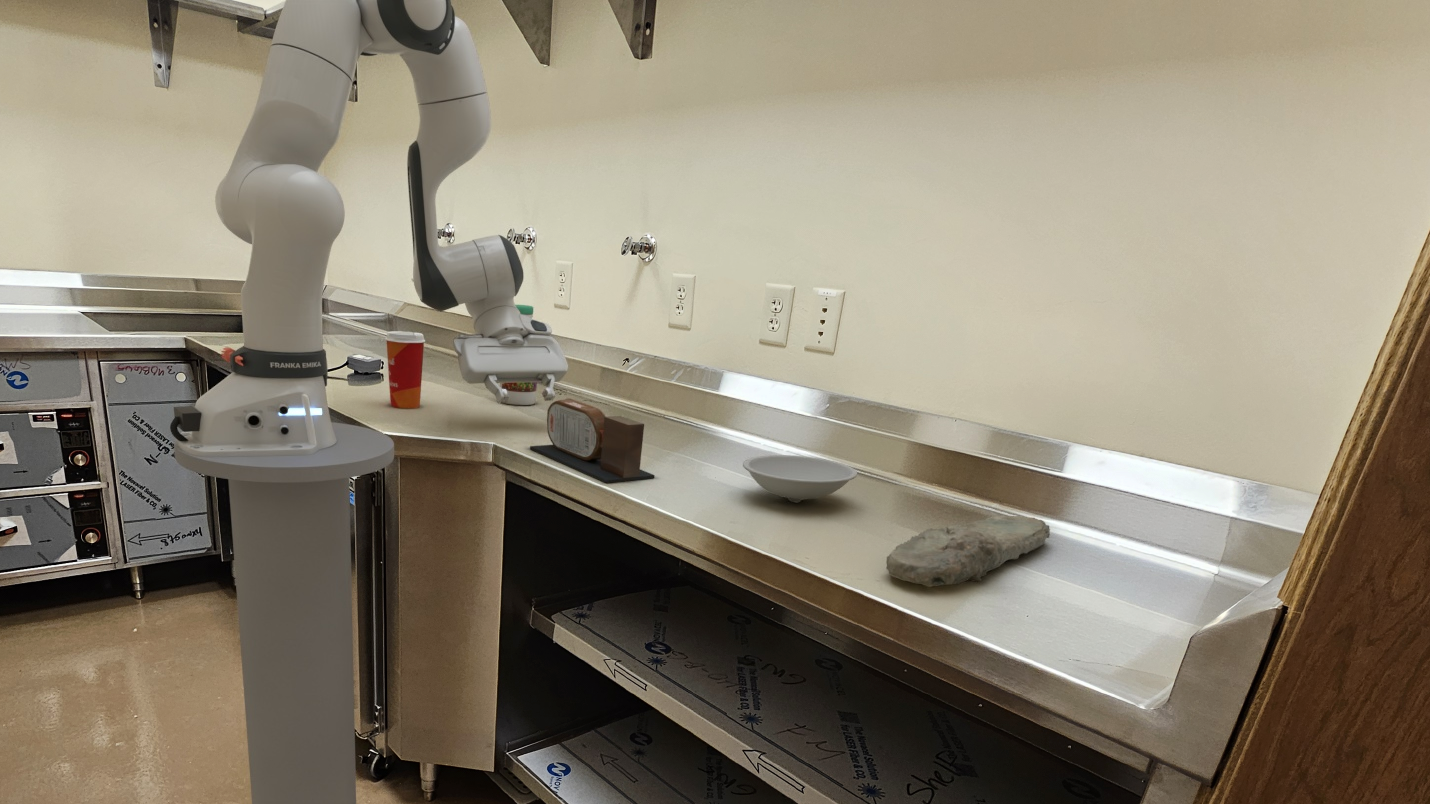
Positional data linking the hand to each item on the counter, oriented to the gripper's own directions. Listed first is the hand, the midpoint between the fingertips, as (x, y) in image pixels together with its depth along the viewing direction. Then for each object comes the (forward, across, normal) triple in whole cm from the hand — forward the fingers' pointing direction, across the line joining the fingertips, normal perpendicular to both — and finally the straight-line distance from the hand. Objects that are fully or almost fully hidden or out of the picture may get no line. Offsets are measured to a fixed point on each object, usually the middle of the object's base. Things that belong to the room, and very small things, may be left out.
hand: (527, 399), depth 146 cm
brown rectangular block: (+24, 0, -16) cm, 29 cm away
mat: (+19, 0, -10) cm, 21 cm away
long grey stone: (+58, +19, -48) cm, 78 cm away
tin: (+16, 0, -7) cm, 18 cm away
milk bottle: (-16, +15, +25) cm, 33 cm away
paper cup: (-16, -10, +26) cm, 32 cm away
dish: (+39, +17, -29) cm, 51 cm away
